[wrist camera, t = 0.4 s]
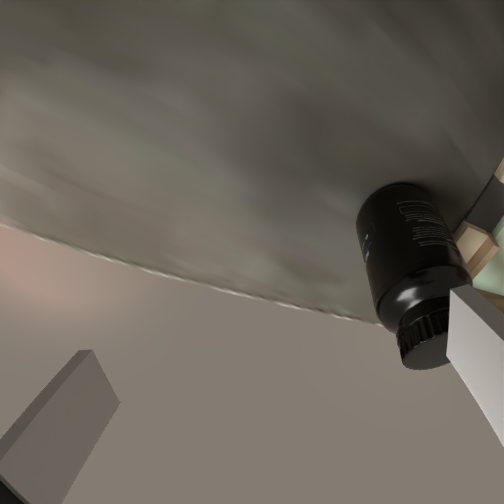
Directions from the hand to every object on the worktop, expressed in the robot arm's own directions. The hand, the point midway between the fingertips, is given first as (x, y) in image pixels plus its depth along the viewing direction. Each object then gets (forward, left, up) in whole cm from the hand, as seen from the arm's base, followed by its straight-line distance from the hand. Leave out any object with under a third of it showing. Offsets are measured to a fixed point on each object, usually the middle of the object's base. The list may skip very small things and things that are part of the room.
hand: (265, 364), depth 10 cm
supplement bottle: (+6, +9, -15) cm, 19 cm away
